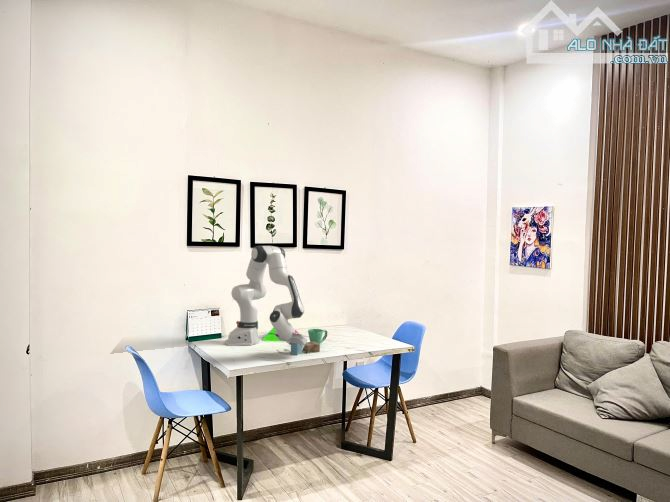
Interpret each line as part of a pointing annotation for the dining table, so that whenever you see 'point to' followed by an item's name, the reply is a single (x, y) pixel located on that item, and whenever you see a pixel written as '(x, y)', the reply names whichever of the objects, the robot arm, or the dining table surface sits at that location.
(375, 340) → the dining table surface
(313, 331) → the mug
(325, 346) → the dining table surface
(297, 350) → the teal brick
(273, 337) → the pyramid toy
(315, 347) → the base block
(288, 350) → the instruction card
